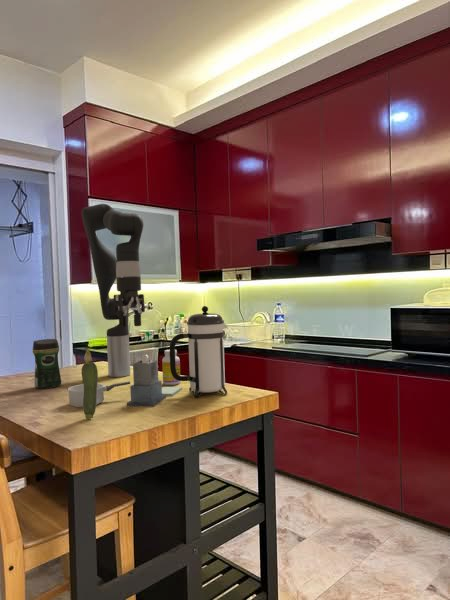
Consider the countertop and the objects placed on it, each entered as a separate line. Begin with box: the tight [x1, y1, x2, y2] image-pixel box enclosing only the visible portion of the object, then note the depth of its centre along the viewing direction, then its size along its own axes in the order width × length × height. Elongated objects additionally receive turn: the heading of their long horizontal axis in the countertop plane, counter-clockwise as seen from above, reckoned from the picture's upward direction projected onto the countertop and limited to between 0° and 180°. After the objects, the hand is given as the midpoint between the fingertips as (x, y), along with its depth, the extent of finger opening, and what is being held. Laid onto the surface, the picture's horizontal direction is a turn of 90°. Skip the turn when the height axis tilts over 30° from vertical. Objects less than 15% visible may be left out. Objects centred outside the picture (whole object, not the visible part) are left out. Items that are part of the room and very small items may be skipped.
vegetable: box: [81, 348, 99, 420], centre depth 124 cm, size 4×4×20 cm
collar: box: [132, 359, 159, 385], centre depth 141 cm, size 6×6×7 cm
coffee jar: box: [32, 338, 62, 389], centre depth 170 cm, size 10×8×19 cm
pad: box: [162, 386, 183, 397], centre depth 154 cm, size 10×10×1 cm
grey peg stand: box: [126, 354, 167, 408], centre depth 141 cm, size 11×9×15 cm
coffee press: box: [169, 305, 228, 399], centre depth 149 cm, size 17×16×30 cm
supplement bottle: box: [161, 349, 181, 386], centre depth 168 cm, size 7×7×13 cm
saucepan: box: [67, 380, 131, 408], centre depth 143 cm, size 12×20×6 cm, turn 115°
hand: (130, 327), depth 139 cm, fingers open, 8 cm apart
